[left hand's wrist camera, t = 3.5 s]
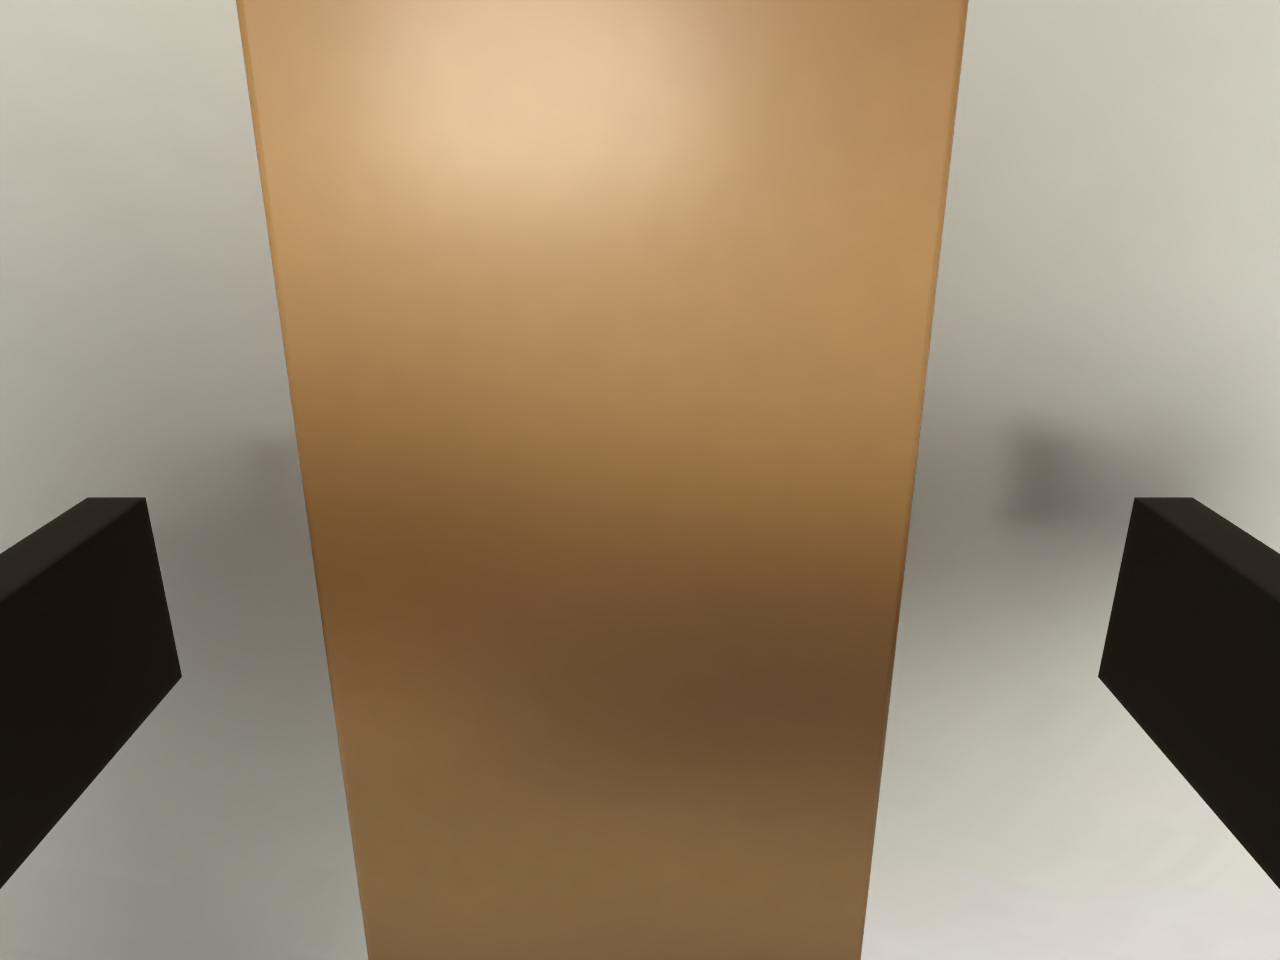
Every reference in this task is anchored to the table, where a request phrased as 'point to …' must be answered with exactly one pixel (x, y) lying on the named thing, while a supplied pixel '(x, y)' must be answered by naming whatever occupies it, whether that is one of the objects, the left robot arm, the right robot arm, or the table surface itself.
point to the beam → (607, 448)
